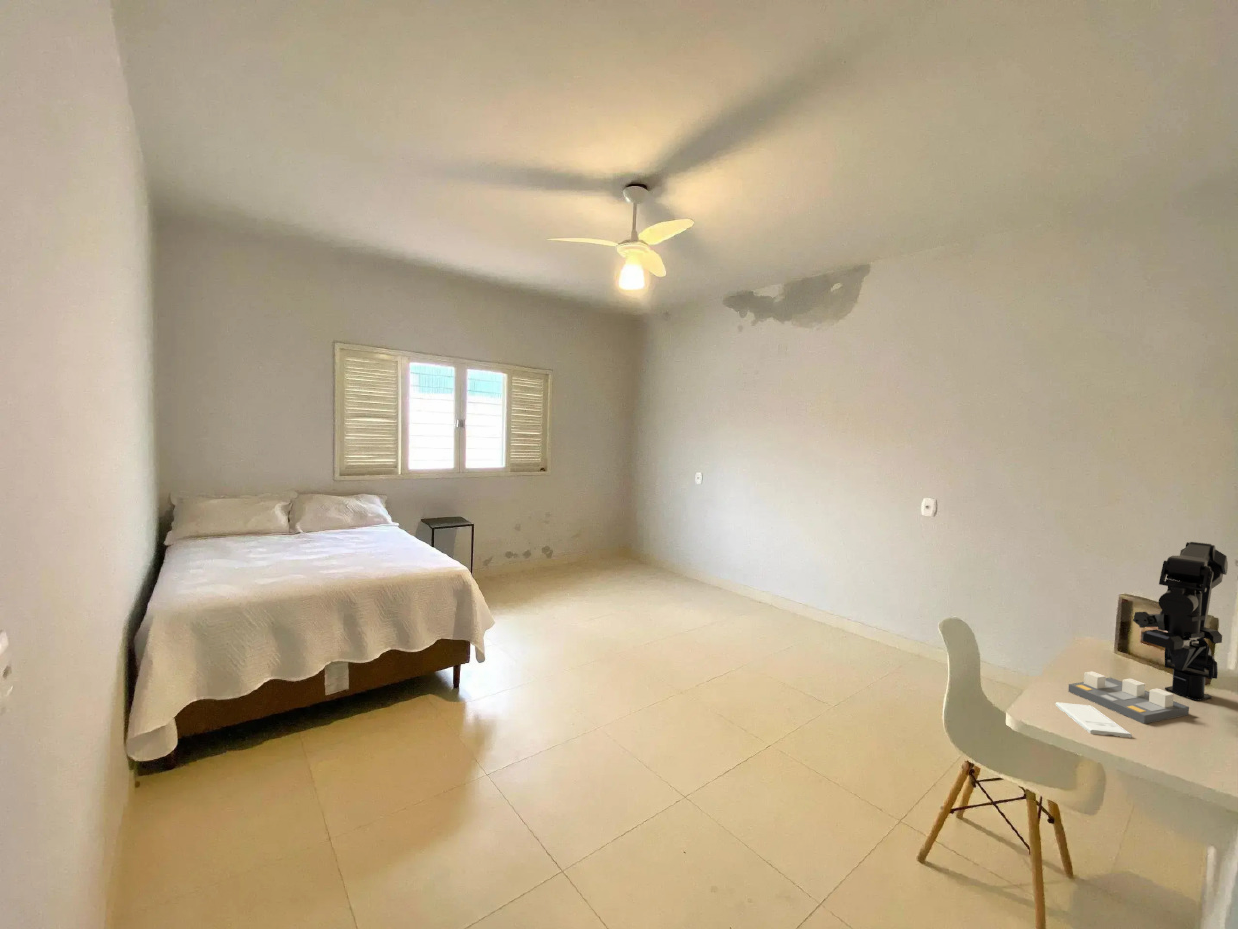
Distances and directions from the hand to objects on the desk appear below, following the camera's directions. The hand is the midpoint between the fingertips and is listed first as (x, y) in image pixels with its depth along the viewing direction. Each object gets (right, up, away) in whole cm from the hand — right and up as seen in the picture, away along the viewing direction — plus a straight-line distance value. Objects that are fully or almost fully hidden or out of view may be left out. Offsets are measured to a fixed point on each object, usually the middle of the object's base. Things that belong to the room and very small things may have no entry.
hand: (1179, 670), depth 127 cm
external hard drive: (-27, -11, -6) cm, 30 cm away
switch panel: (-10, -10, +3) cm, 14 cm away
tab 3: (-6, -8, -2) cm, 10 cm away
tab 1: (-14, -7, +8) cm, 18 cm away
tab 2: (-8, -8, +4) cm, 11 cm away
